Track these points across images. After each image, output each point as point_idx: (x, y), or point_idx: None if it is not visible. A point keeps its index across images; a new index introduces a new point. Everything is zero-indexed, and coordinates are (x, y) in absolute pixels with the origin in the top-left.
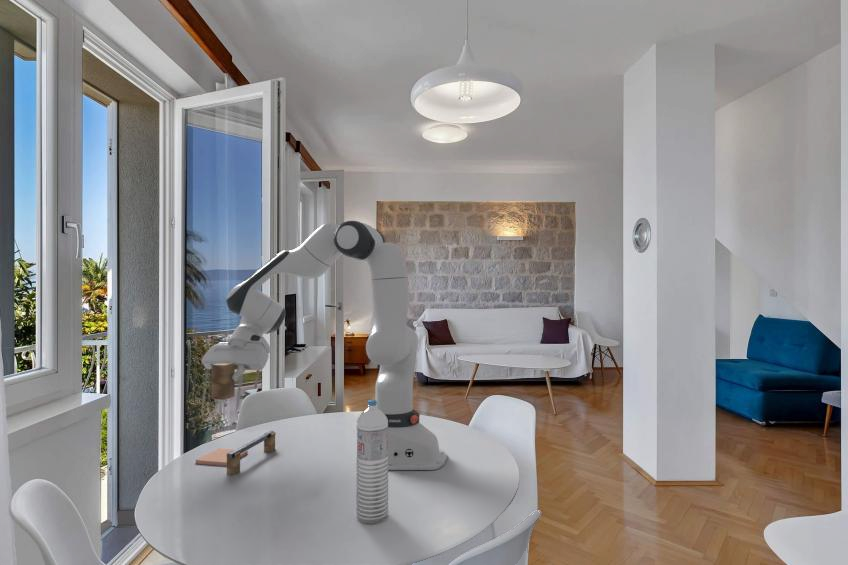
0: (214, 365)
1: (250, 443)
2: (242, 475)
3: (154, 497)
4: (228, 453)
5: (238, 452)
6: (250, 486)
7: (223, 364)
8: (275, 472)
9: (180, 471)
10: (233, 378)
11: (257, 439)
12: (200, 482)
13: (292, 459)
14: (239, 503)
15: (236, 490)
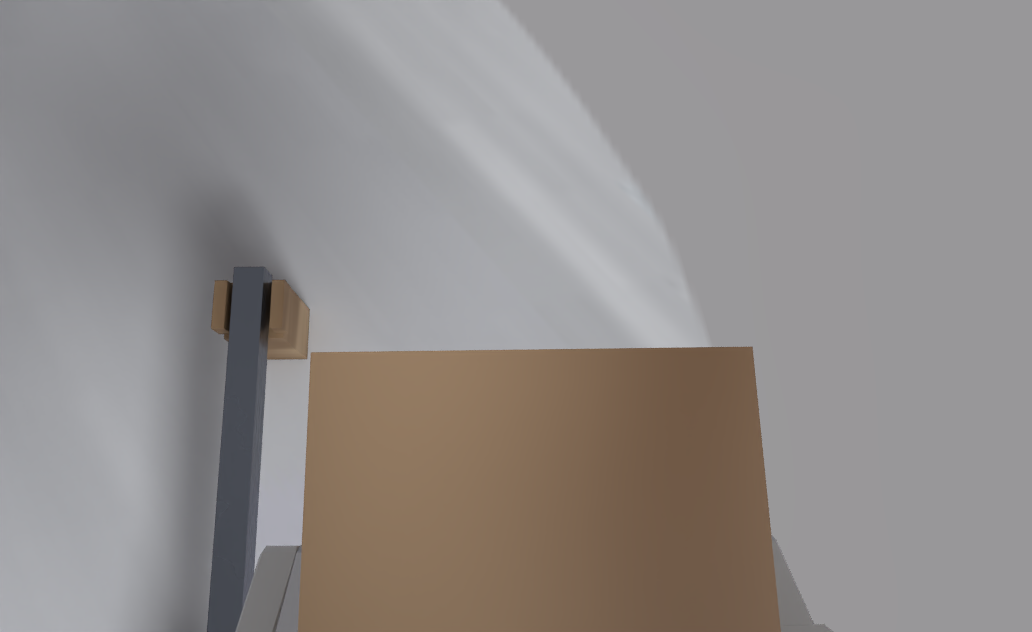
0: (656, 348)
1: (224, 489)
2: (210, 315)
3: (477, 22)
4: (275, 285)
5: (218, 316)
6: (90, 200)
7: (463, 482)
8: (35, 392)
9: (598, 294)
10: (276, 549)
11: (219, 592)
12: (382, 193)
13: (10, 623)
14: (52, 40)
15: (139, 148)
